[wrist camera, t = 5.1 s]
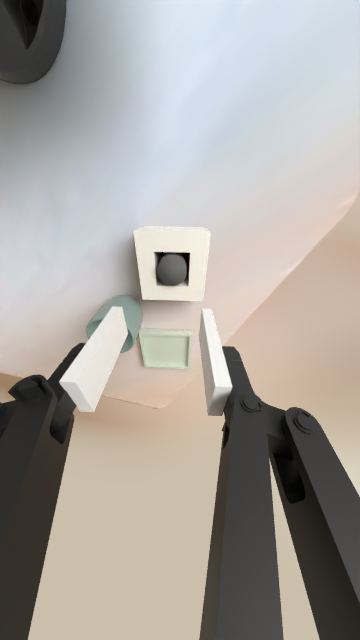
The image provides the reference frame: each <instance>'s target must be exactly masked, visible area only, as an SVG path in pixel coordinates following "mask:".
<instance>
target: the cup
mask: <svg viewBox="0 0 360 640" xmlns="http://www.w3.org/2000/svg"><path fill="white" fill-rule="evenodd" d="M112 306H113V307H122V308H123V313H124V317H125V322H126V326H127V331H128V335H127V337H126V340H125V342H124V344H123V346H122V349H121V351H120V353H123V352H126V351H128V350H130V349H131V348H132V347H133V345H134V344H135V341H136V338H137V336H138V333H139V330H140V327H141V323H142V316H143V313H142V308H141V305H140V304H139V302H138V301H137V300H136V299H135V298H133V297H131V296H127V295H120V296H116V297H113V298H112V299H110V300H108V301H107V302H106V303H105V304H104V305H103V306H102V307H101V308H100V309H99V310H98V312H97V313H96V314H95V315H94V316H93V318H92V319H91V320H90V322H89V323H88V325H87V329H86V331H87V336H88V338H89V339H90V337H91V336H92V335H93V333H94V332H95V330H96V329H97V327H98V326H99V325H100V323H101V322H102V320H103V319H104V318H105V316H106V315H107V313H108V312H109V311H110V309H111V308H112Z"/></svg>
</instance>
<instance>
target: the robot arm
mask: <svg viewBox="0 0 360 640" xmlns="http://www.w3.org/2000/svg"><path fill="white" fill-rule="evenodd" d="M65 12H66V0H0V79H1V80H4V81H7V82H11V83H18V84H23V83H30V82H33V81H35V80H37V79H39V78H40V77H42V76H43V75H44V74H45V73H46V72H47V71H48V70H49V68H50V67H51V66H52V64H53V62H54V60H55V58H56V56H57V54H58V51H59V48H60V45H61V41H62V37H63V31H64V24H65ZM127 335H128V331H127V326H126V322H125V317H124V313H123V308H122V307H113V306H112V308H111V309H110V311H109V312H108V313H107V315H106V316H105V318H104V319H103V320H102V322H101V323H100V325H99V326H98V327H97V329H96V330H95V332H94V333H93V335H92V336H91V337H90V339H89V340H88V342H87V343H79V344H78V345H77V346H75V347H74V348H73V349H72V350H71V351H70V352H69V354H68V355H67V357H65V359H64V360H63V362H62V363H61V364H60V365H59V366H58V368H57V369H56V370H55V371H54V373H53V374H52V375H51V377H50V378H49V379H48V380H46V378H45V377H44V376H42V375H32V376H29V377H26V378H24V379H23V380H21V381H19V382H18V383H16V384H15V385H14V386H13V387H12V388H11V389H10V390H9V391H8V393H9V394H11V395H12V396H13V397H14V398H15V399H16V400H14V401H10V402H6V403H1V402H0V640H28V635H29V631H30V626H31V621H32V616H33V611H34V607H35V602H36V598H37V593H38V588H39V583H40V578H41V574H42V569H43V565H44V560H45V555H46V550H47V546H48V541H49V536H50V531H51V527H52V522H53V517H54V512H55V508H56V503H57V499H58V494H59V489H60V485H61V480H62V475H63V470H64V465H65V461H66V456H67V452H68V447H69V442H70V437H71V433H72V428H73V423H74V415H73V411H74V409H75V408H76V407H77V408H78V409H79V411H82V412H94V410H95V408H96V405H97V403H98V401H99V399H100V397H101V394H102V392H103V390H104V387H105V385H106V383H107V381H108V378H109V376H110V374H111V372H112V369H113V367H114V365H115V362H116V360H117V358H118V356H119V353H120V351H121V349H122V346H123V344H124V342H125V340H126V337H127ZM199 340H200V349H201V357H202V366H203V374H204V384H205V393H206V402H207V411H208V415H212V416H222V415H223V412H224V415H225V420H226V421H225V423H224V426H223V428H222V431H223V439H222V448H221V457H220V466H219V474H218V483H217V492H216V500H215V509H214V517H213V526H212V535H211V544H210V552H209V561H208V570H207V578H206V587H205V596H204V604H203V614H202V622H201V631H200V639H199V640H283V628H282V615H281V602H280V590H279V577H278V565H277V551H276V539H275V527H274V514H273V501H272V489H271V476H270V464H269V458H270V461H271V465H272V469H273V472H274V476H275V479H276V483H277V487H278V490H279V494H280V498H281V501H282V505H283V509H284V512H285V516H286V519H287V523H288V526H289V530H290V533H291V537H292V541H293V545H294V548H295V552H296V555H297V559H298V563H299V566H300V570H301V573H302V577H303V581H304V584H305V588H306V591H307V595H308V599H309V602H310V605H311V610H312V613H313V617H314V620H315V624H316V627H317V631H318V634H319V638H320V640H360V497H359V495H358V493H357V491H356V489H355V487H354V486H353V484H352V482H351V480H350V479H349V477H348V475H347V473H346V471H345V469H344V467H343V466H342V464H341V462H340V460H339V459H338V457H337V455H336V453H335V451H334V449H333V447H332V446H331V444H330V442H329V440H328V438H327V437H326V435H325V433H324V431H323V429H322V428H321V426H320V424H319V423H318V422H317V420H316V419H315V418H314V417H313V416H311V414H310V413H308V412H307V411H305V410H303V409H301V408H297V407H293V408H289V409H288V410H287V411H284V410H282V409H278V408H276V407H273V406H270V405H268V404H266V403H264V402H263V401H261V399H260V398H259V397H258V396H256V395H255V393H254V391H253V389H252V387H251V384H250V381H249V379H248V376H247V373H246V370H245V368H244V365H243V362H242V360H241V357H240V354H239V352H238V351H237V350H236V349H235V348H234V347H225V346H221V342H220V338H219V334H218V331H217V327H216V323H215V319H214V315H213V312H212V309H202V313H201V322H200V331H199Z"/></svg>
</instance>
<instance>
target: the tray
mask: <svg viewBox="0 0 360 640" xmlns="http://www.w3.org/2000/svg"><path fill="white" fill-rule="evenodd" d="M192 335H193V334H192V330H190V329H152V328H140V330H139V339H140V344H141V350H142V356H143V361H144V367H145V368H171V369H190V360H191V347H192Z"/></svg>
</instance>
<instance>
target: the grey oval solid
mask: <svg viewBox="0 0 360 640" xmlns="http://www.w3.org/2000/svg"><path fill="white" fill-rule="evenodd" d="M157 273H158V276H159V278H160V280H161V281H162V282H163V283H165V284H166V285H170V286H176V285H179V284H180V283H182V282H183V281H184V279H185V278H186V274H187V266H186V256H185V254H184V252H164V254H163V256H162V258H161V261H160V263H159V265H158V269H157Z"/></svg>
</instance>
